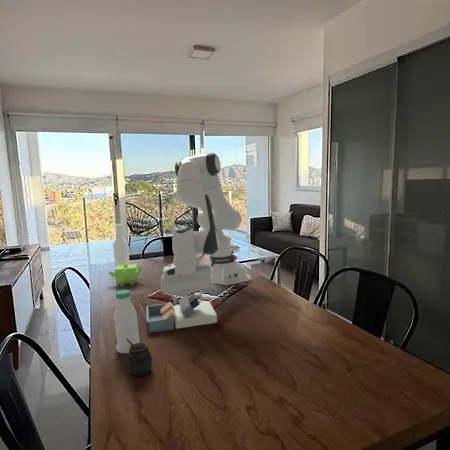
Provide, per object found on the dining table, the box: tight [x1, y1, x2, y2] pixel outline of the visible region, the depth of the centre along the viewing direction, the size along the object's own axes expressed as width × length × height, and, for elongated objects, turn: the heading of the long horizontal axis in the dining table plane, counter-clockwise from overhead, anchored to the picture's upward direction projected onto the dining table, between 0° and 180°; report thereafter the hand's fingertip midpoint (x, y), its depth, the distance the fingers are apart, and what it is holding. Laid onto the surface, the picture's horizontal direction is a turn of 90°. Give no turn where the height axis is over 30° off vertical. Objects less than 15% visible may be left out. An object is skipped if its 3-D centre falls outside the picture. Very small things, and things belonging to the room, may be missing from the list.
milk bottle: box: [113, 289, 141, 354], centre depth 117 cm, size 8×8×20 cm
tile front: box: [162, 309, 177, 320], centre depth 134 cm, size 5×5×2 cm
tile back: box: [160, 301, 175, 315], centre depth 142 cm, size 5×5×2 cm
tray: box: [145, 302, 175, 334], centre depth 138 cm, size 10×17×4 cm, turn 13°
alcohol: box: [112, 223, 131, 269], centre depth 217 cm, size 9×9×30 cm
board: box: [173, 300, 218, 329], centre depth 141 cm, size 16×16×3 cm
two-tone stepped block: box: [177, 293, 200, 319], centre depth 140 cm, size 3×14×7 cm
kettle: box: [108, 263, 145, 287], centre depth 191 cm, size 15×14×11 cm
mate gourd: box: [126, 339, 153, 377], centre depth 103 cm, size 7×8×10 cm
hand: (187, 300), depth 139 cm, fingers open, 8 cm apart
